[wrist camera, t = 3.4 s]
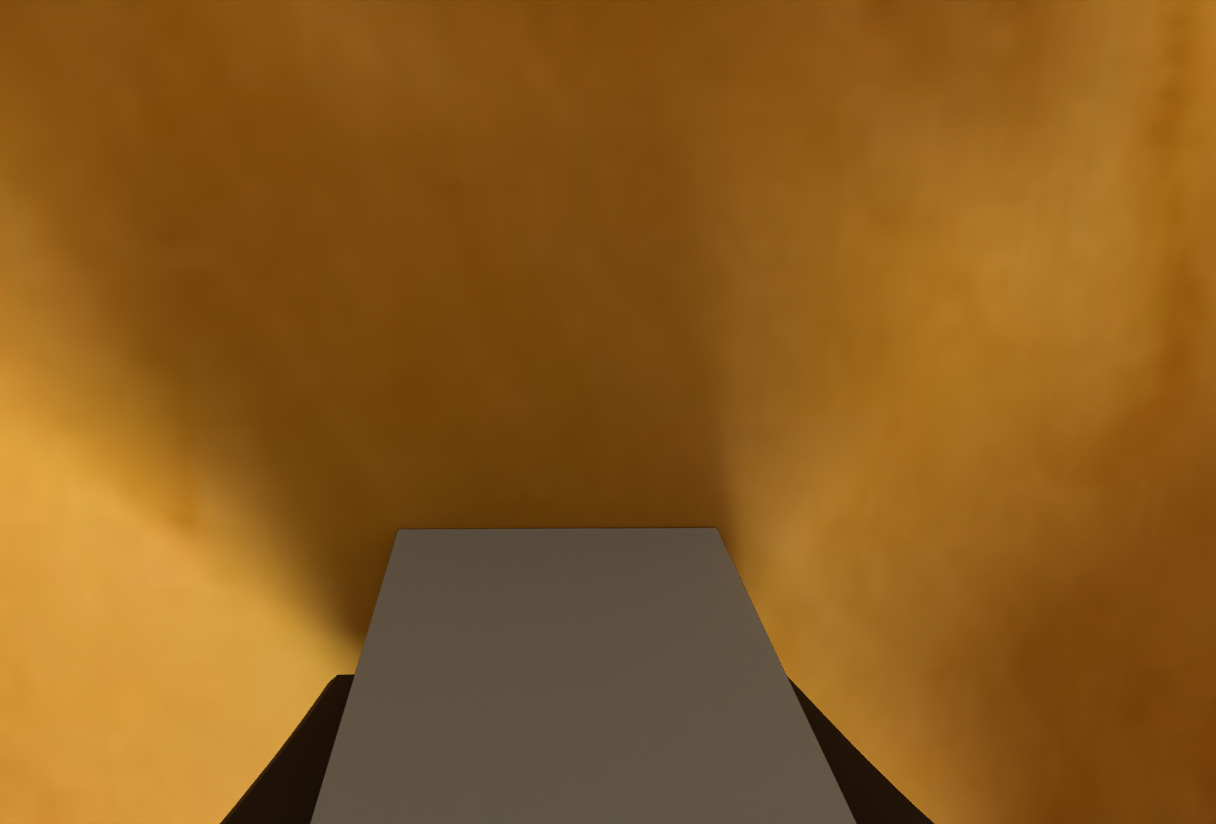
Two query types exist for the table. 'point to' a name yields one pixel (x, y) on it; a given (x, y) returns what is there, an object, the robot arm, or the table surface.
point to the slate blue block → (571, 689)
